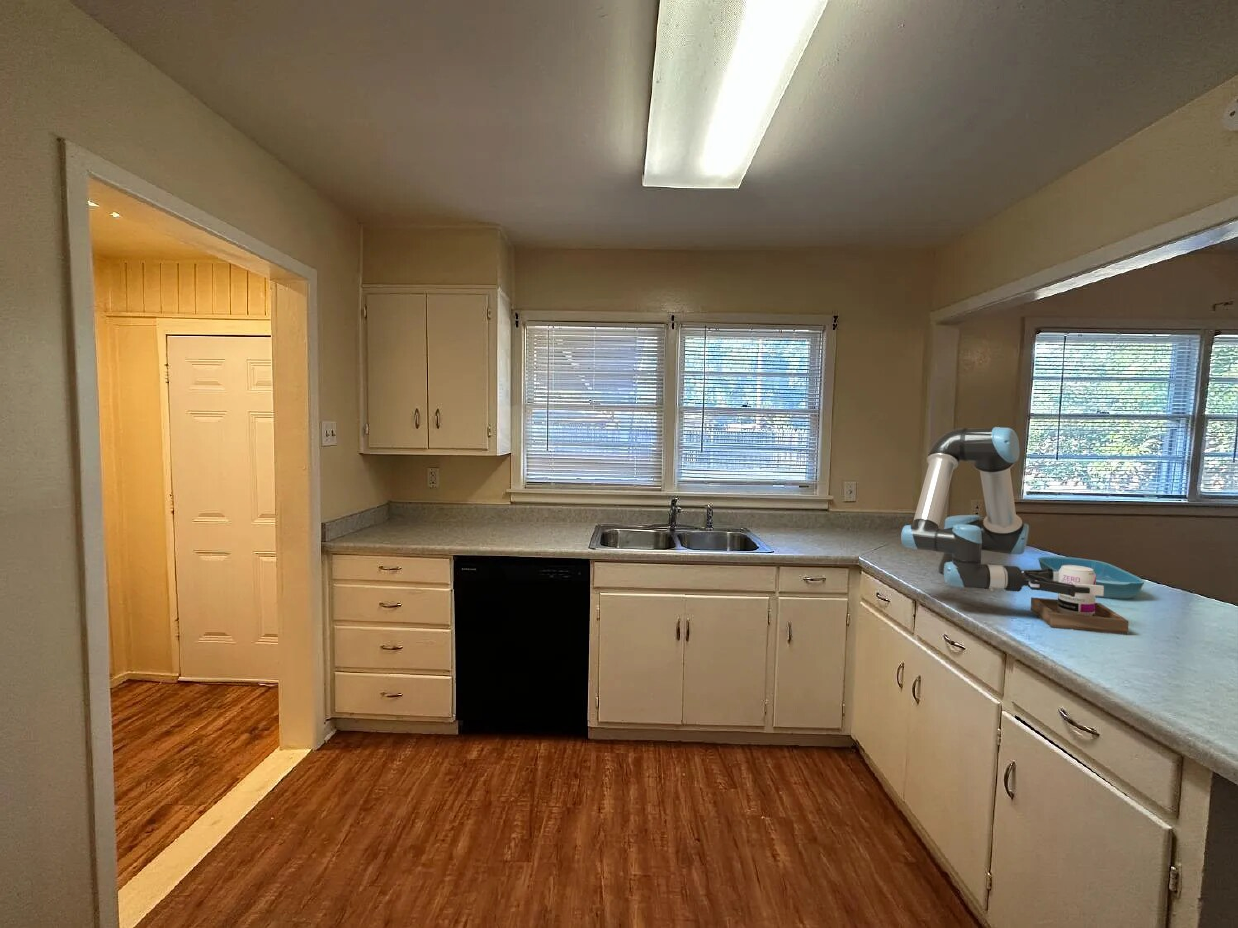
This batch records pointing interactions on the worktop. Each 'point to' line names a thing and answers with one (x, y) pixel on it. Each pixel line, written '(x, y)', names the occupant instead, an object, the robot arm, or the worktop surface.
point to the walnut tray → (1079, 618)
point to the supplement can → (1081, 601)
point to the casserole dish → (1100, 576)
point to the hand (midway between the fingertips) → (1091, 584)
